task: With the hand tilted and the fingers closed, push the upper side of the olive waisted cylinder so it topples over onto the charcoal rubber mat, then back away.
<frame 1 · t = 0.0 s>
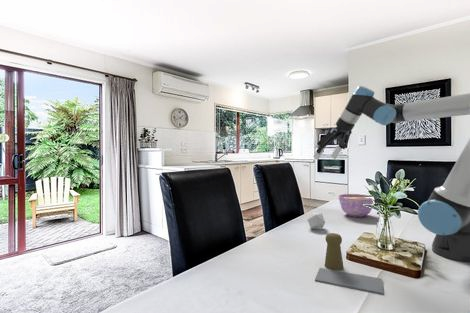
hand: (324, 158, 128), 36 cm above the table, tool tilted 35°, fingers open, 13 cm apart
purple ceramic bowl: (356, 215, 158), on the table
olive waisted cylinder: (334, 266, 88), on the table
die: (316, 229, 132), on the table
mat: (348, 280, 78), on the table
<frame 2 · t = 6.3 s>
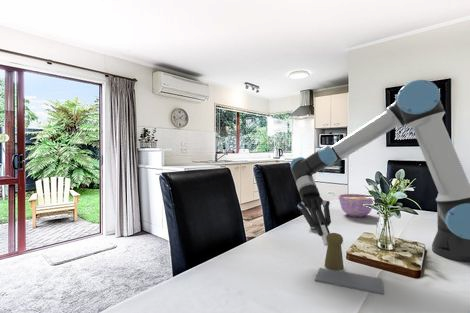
hand: (327, 243, 90), 7 cm above the table, tool tilted 45°, fingers closed
olive waisted cylinder: (333, 266, 88), on the table, touching gripper
everything else where it was.
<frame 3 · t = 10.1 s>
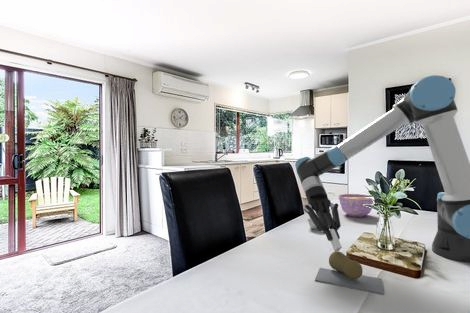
hand: (338, 249, 84), 7 cm above the table, tool tilted 45°, fingers closed
olive waisted cylinder: (337, 260, 86), point 3 cm above the table, touching gripper
everything else where it was.
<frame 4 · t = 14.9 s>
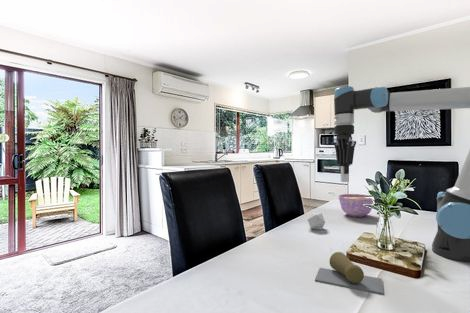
hand: (344, 181, 108), 26 cm above the table, tool pointing down, fingers closed
olive waisted cylinder: (337, 260, 85), point 3 cm above the table, touching mat
everything else where it was.
at the end: olive waisted cylinder tilted 90°; olive waisted cylinder inside the target area (4.9 cm from its centre), point 3.0 cm above the table; the gripper is holding nothing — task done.
